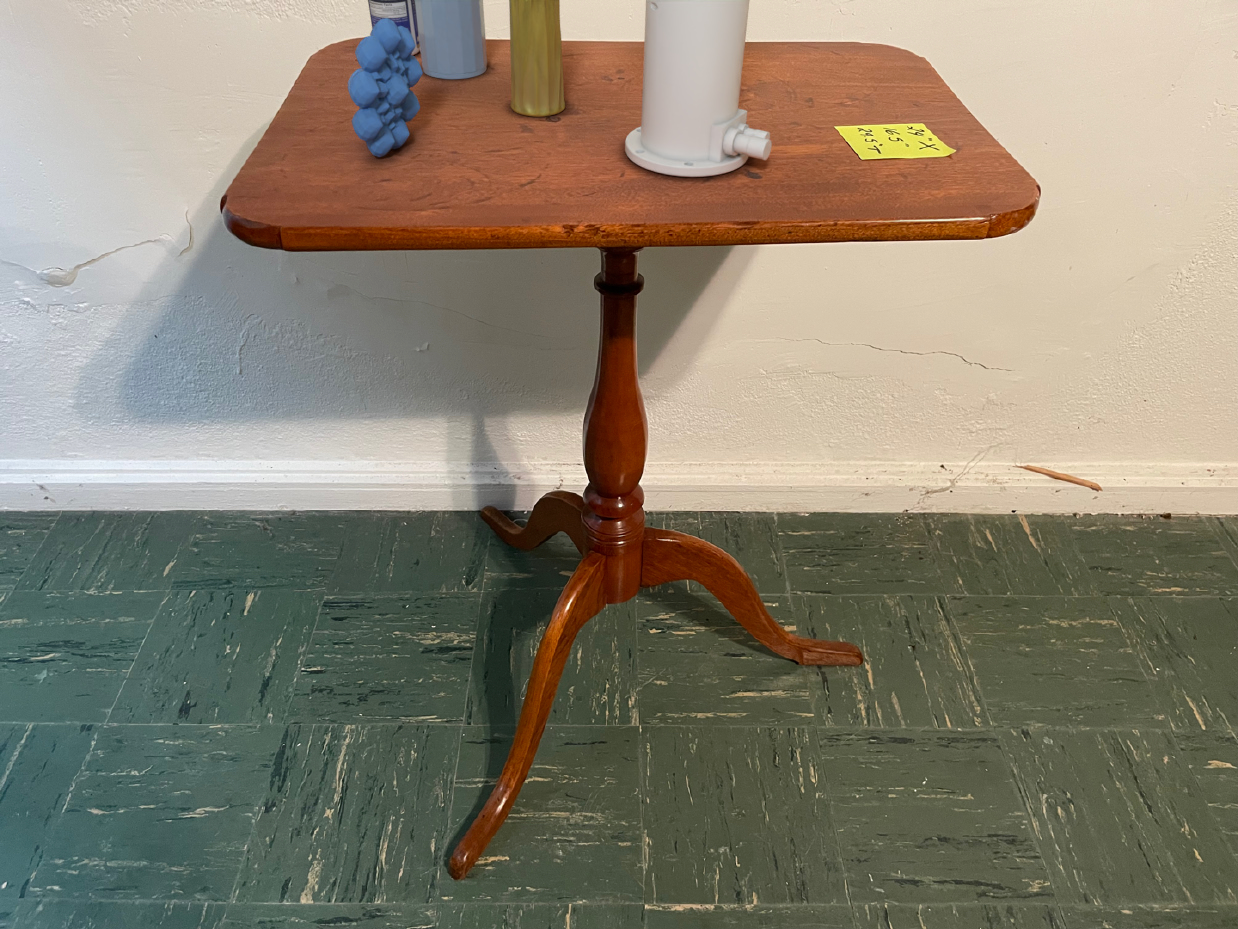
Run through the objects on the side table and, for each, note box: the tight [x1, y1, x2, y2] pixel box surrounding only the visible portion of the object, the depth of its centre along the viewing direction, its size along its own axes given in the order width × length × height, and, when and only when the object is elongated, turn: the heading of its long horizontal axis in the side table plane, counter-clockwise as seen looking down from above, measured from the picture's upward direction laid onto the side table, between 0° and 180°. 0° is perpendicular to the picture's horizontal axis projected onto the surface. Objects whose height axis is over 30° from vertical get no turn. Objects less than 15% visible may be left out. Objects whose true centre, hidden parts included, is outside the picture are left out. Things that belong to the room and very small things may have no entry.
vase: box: [508, 0, 566, 118], centre depth 99 cm, size 6×6×14 cm
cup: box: [415, 0, 488, 80], centre depth 110 cm, size 8×8×9 cm
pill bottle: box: [367, 0, 420, 56], centre depth 114 cm, size 6×6×10 cm
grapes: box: [347, 18, 424, 158], centre depth 90 cm, size 12×7×12 cm, turn 161°
